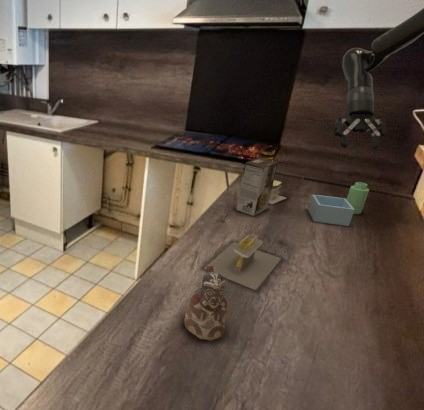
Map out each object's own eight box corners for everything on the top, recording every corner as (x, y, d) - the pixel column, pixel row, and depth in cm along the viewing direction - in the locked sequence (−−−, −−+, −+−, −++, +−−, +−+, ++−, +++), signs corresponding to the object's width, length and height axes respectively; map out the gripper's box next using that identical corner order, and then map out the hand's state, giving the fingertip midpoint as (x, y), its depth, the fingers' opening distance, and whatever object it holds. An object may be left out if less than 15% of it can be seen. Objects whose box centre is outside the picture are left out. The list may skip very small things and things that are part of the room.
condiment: (272, 185, 138) (279, 155, 133) (249, 184, 138) (255, 154, 134) (265, 179, 144) (271, 150, 140) (243, 178, 145) (249, 149, 140)
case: (340, 214, 114) (345, 198, 112) (348, 226, 106) (354, 209, 104) (307, 209, 117) (312, 194, 115) (313, 221, 109) (318, 204, 107)
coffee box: (249, 203, 122) (258, 157, 115) (267, 209, 117) (279, 161, 111) (235, 209, 116) (244, 162, 110) (254, 216, 112) (265, 167, 105)
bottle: (358, 209, 118) (367, 182, 114) (363, 215, 114) (373, 187, 110) (341, 207, 120) (350, 180, 116) (345, 212, 115) (355, 185, 112)
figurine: (185, 336, 64) (194, 281, 59) (182, 310, 71) (190, 258, 66) (227, 342, 63) (239, 286, 58) (220, 315, 69) (231, 263, 65)
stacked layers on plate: (262, 190, 133) (265, 176, 131) (286, 198, 126) (290, 183, 124) (247, 196, 128) (250, 181, 125) (272, 204, 121) (276, 189, 119)
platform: (203, 268, 84) (207, 244, 82) (233, 241, 97) (238, 220, 94) (255, 290, 77) (262, 264, 74) (281, 258, 89) (287, 235, 87)
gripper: (340, 97, 121) (340, 142, 117) (390, 98, 117) (391, 144, 113) (331, 108, 128) (330, 150, 124) (378, 109, 124) (379, 153, 121)
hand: (359, 147), depth 119 cm, fingers open, 8 cm apart
